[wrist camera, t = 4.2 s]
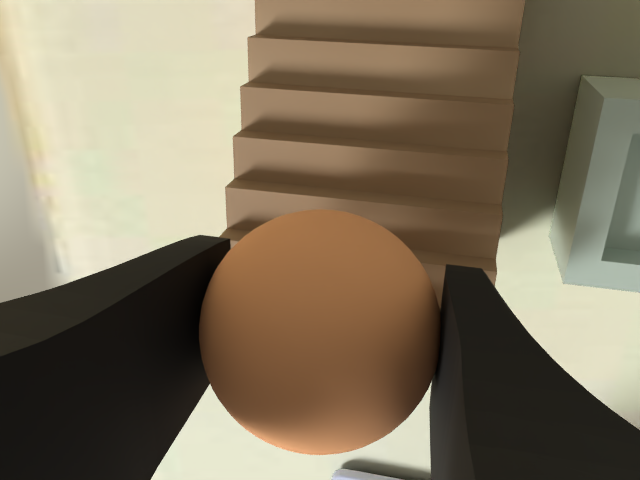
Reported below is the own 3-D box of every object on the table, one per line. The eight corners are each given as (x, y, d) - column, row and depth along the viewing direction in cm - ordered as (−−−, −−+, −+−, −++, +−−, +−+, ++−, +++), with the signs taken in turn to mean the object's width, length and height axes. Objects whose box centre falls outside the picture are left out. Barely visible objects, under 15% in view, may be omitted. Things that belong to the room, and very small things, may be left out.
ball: (433, 371, 12) (421, 536, 9) (248, 342, 13) (166, 485, 10) (457, 188, 11) (452, 300, 7) (242, 167, 11) (141, 261, 8)
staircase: (479, 248, 17) (485, 367, 12) (280, 225, 19) (208, 326, 13) (525, -52, 14) (558, -60, 9) (278, -57, 15) (182, -68, 10)
